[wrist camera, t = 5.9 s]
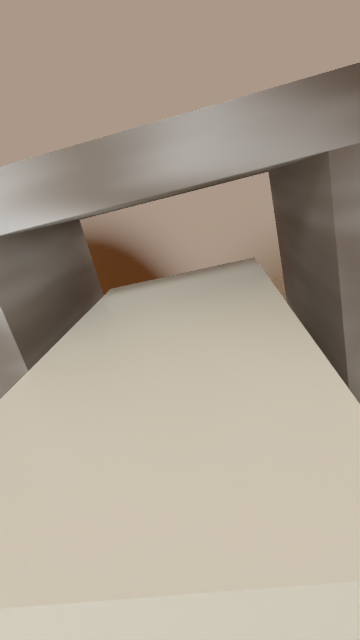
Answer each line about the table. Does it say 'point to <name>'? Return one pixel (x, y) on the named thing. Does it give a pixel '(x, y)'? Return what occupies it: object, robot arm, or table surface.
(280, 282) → the table surface
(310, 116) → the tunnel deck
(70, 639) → the cream block
